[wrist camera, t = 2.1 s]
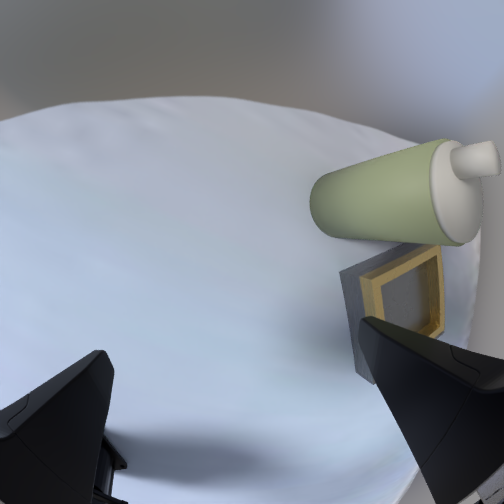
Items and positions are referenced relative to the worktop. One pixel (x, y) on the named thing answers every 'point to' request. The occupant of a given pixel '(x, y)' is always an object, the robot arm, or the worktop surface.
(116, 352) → the worktop surface
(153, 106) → the worktop surface
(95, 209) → the worktop surface
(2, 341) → the worktop surface
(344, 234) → the green and white bottle
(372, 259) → the grey and tan tray
